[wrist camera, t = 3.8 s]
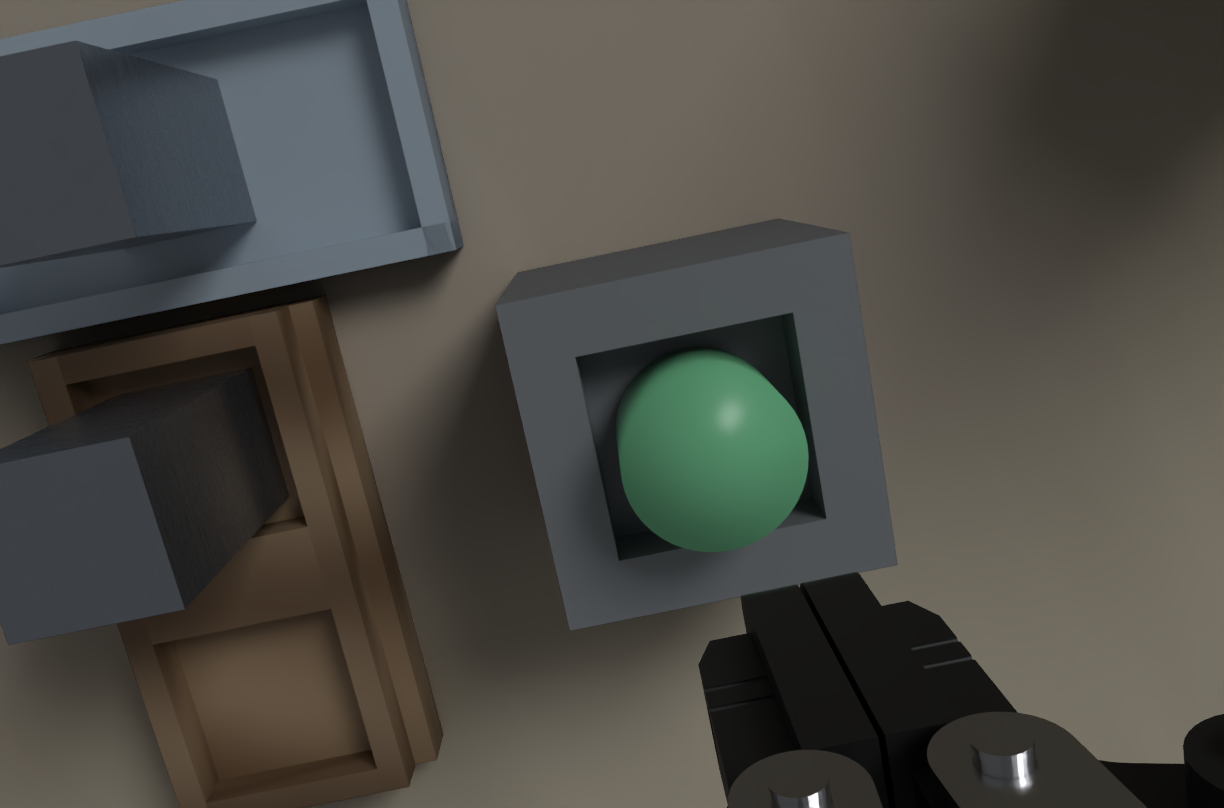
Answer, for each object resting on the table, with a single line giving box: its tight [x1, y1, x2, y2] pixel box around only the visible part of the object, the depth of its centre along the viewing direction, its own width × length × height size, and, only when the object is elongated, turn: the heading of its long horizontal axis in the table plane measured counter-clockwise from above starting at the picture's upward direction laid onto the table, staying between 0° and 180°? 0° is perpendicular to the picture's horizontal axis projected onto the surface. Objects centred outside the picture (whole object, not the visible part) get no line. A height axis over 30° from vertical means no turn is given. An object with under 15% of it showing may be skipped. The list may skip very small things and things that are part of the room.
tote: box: [0, 0, 464, 344], centre depth 28 cm, size 8×15×2 cm, turn 102°
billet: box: [0, 40, 257, 268], centre depth 24 cm, size 4×4×8 cm
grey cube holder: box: [495, 219, 898, 631], centre depth 27 cm, size 8×8×8 cm
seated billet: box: [0, 367, 289, 645], centre depth 25 cm, size 4×4×8 cm
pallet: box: [27, 295, 443, 808], centre depth 30 cm, size 15×8×3 cm, turn 11°
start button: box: [616, 347, 809, 552], centre depth 22 cm, size 4×4×3 cm
